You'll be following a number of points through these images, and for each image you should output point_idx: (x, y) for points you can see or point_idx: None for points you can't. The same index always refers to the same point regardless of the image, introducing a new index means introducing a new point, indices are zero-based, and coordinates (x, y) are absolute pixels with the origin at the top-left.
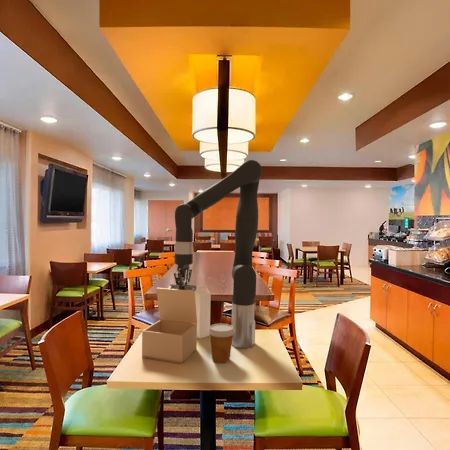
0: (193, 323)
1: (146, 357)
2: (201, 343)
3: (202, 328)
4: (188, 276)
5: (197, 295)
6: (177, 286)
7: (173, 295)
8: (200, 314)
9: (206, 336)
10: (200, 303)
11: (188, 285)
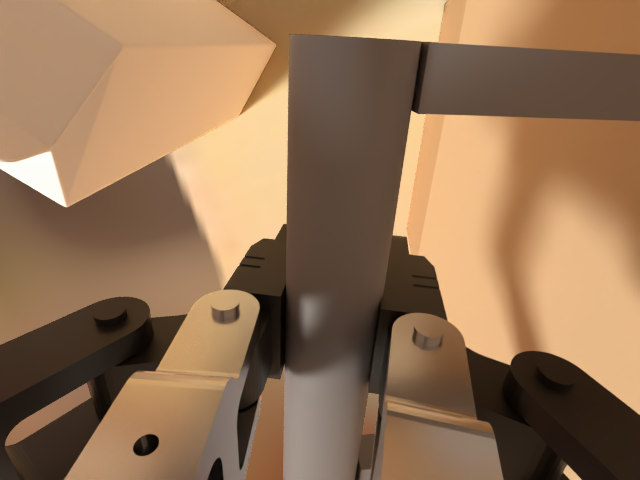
0: (223, 109)
1: None
2: (346, 3)
3: (239, 28)
4: (145, 439)
5: (114, 100)
6: (364, 408)
7: (622, 337)
8: (221, 39)
9: (228, 9)
10: (176, 39)
11: (357, 242)
